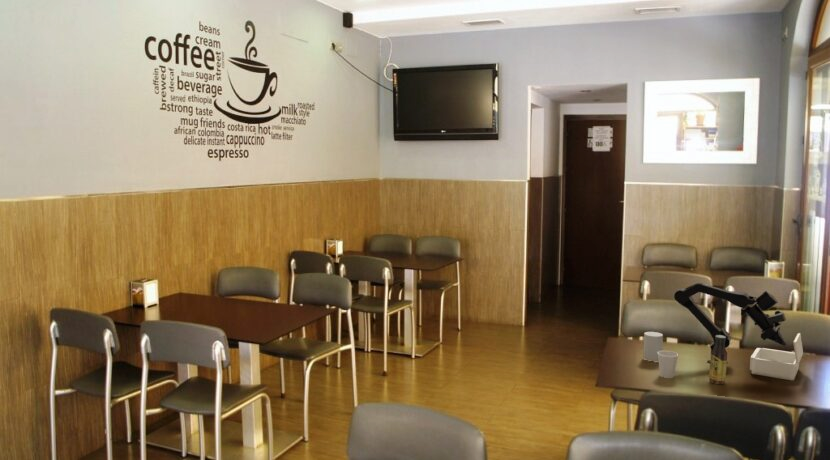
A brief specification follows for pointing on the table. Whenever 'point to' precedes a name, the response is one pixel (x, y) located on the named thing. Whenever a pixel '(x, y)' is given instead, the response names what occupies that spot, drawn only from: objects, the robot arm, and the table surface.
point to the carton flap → (798, 348)
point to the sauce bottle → (718, 361)
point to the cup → (652, 345)
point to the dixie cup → (667, 363)
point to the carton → (774, 363)
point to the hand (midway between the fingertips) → (785, 345)
